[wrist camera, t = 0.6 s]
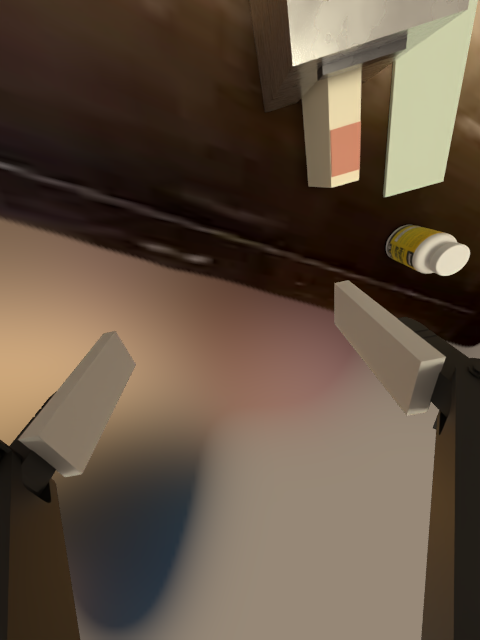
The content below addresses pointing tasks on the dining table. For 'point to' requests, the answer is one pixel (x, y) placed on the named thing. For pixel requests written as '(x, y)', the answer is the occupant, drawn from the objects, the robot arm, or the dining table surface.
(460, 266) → the supplement bottle
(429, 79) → the pad
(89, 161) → the dining table surface
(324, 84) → the cream rectangular block
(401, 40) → the plate
